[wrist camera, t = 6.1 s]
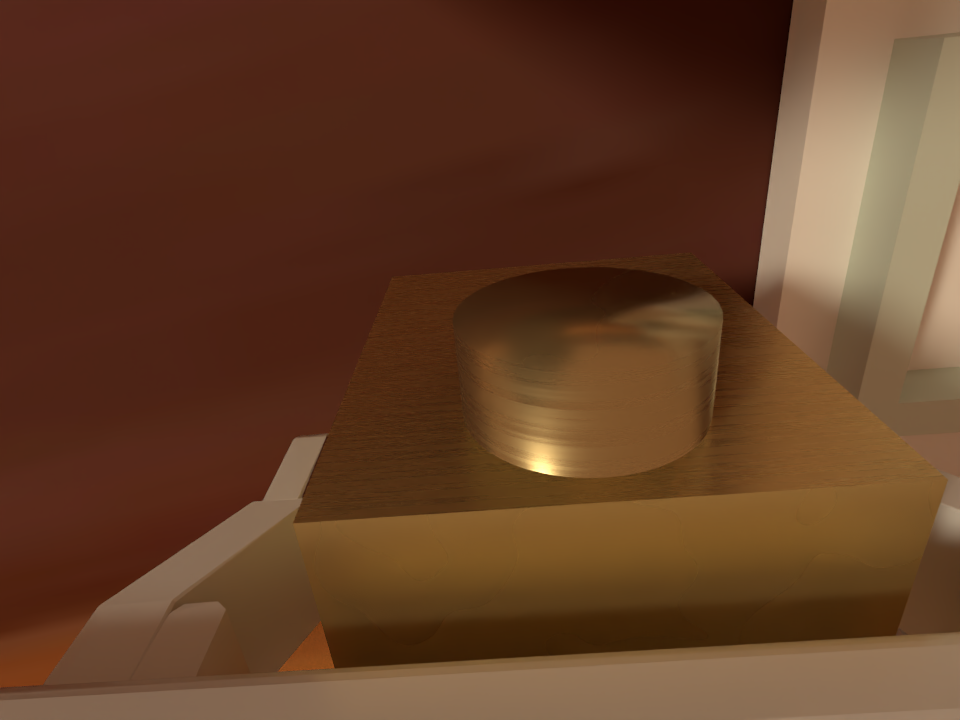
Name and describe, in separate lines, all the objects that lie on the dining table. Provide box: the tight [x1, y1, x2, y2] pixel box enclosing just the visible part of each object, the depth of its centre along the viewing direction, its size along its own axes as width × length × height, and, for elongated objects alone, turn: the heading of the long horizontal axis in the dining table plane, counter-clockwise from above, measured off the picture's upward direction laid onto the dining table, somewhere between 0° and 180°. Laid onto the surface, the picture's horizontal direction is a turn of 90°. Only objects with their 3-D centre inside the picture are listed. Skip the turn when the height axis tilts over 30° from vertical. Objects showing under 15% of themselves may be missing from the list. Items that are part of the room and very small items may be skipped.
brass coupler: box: [293, 253, 948, 669], centre depth 8 cm, size 7×5×6 cm
